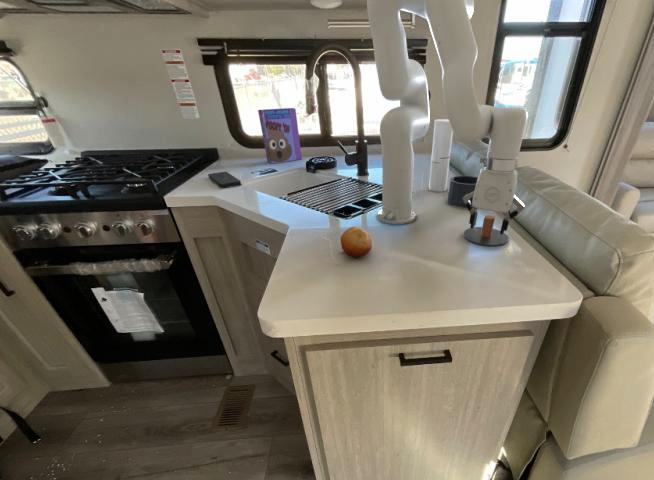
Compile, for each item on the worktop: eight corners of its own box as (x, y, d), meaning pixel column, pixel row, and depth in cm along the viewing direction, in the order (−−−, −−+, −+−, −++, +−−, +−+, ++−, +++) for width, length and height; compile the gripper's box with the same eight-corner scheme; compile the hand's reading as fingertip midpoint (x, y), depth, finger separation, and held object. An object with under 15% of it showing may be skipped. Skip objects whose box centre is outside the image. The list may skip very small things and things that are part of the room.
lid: (502, 252, 87) (508, 229, 83) (457, 242, 92) (460, 220, 88) (511, 235, 96) (517, 214, 92) (470, 227, 101) (473, 206, 97)
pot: (474, 211, 113) (479, 186, 108) (443, 205, 117) (445, 181, 112) (483, 201, 121) (487, 178, 116) (453, 196, 125) (456, 174, 120)
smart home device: (226, 170, 147) (241, 180, 134) (227, 174, 148) (242, 184, 135) (206, 173, 143) (220, 184, 130) (208, 177, 144) (221, 188, 131)
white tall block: (447, 191, 130) (455, 121, 116) (429, 191, 131) (435, 121, 116) (444, 186, 136) (452, 119, 122) (427, 186, 136) (433, 119, 122)
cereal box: (271, 164, 166) (261, 110, 152) (267, 162, 169) (257, 109, 155) (301, 159, 176) (295, 108, 162) (297, 157, 179) (291, 107, 165)
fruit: (350, 238, 90) (360, 218, 84) (369, 258, 89) (380, 240, 82) (329, 248, 85) (338, 227, 78) (348, 270, 83) (359, 250, 77)
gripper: (462, 163, 83) (453, 228, 93) (534, 172, 76) (516, 240, 86) (471, 157, 88) (461, 219, 98) (539, 165, 81) (521, 231, 91)
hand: (487, 229), depth 92 cm, fingers open, 7 cm apart
